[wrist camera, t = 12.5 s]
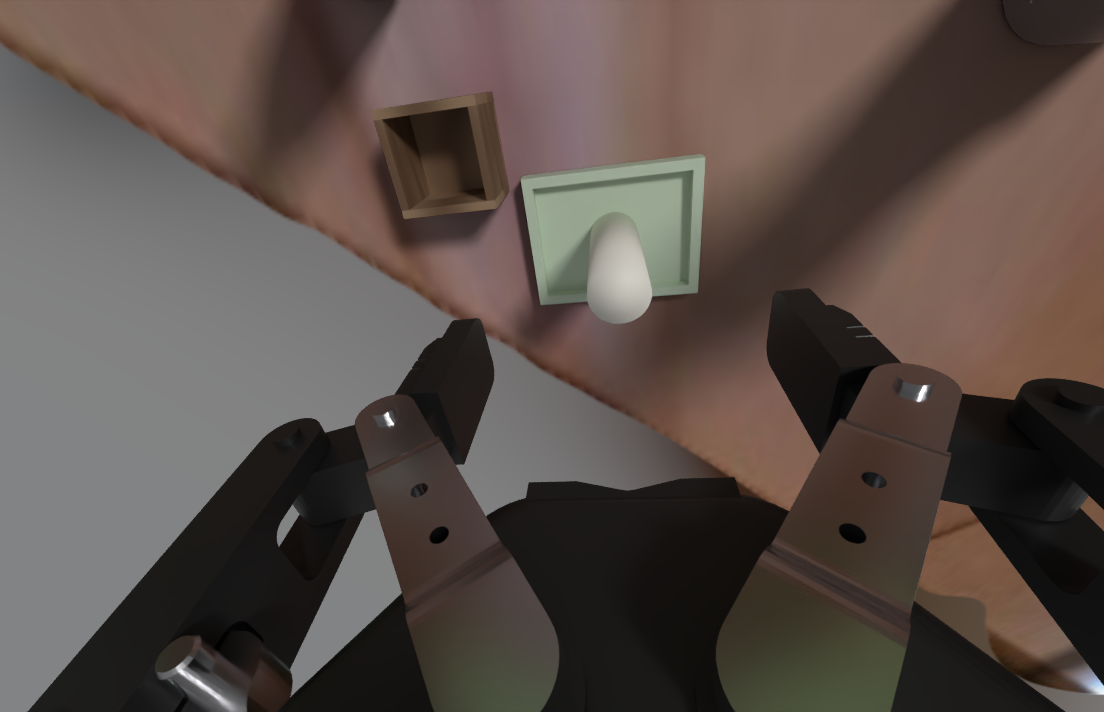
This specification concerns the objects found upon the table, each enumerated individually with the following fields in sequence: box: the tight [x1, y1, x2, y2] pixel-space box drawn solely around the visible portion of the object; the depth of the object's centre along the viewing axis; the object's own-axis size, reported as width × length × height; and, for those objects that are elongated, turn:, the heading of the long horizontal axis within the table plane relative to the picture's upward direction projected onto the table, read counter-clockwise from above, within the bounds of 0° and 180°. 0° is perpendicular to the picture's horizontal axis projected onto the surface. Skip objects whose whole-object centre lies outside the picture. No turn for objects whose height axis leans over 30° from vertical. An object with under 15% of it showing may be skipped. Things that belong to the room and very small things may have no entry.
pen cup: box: [371, 92, 509, 219], centre depth 32 cm, size 7×7×6 cm
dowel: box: [587, 212, 652, 324], centre depth 32 cm, size 4×4×12 cm
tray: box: [521, 154, 705, 305], centre depth 37 cm, size 14×11×2 cm
